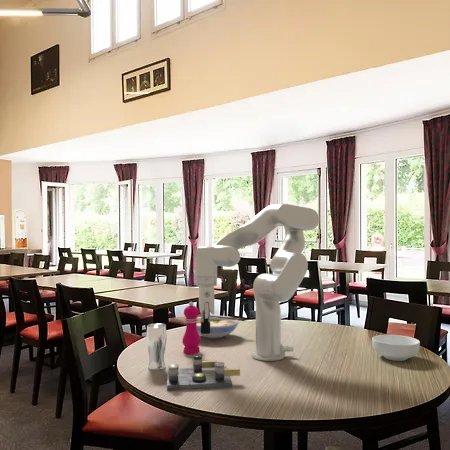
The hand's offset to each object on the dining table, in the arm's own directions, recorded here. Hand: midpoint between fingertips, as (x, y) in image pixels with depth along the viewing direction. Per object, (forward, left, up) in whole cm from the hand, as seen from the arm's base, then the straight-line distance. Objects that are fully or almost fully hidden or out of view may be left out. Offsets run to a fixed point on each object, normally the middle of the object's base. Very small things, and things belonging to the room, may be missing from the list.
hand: (205, 333), depth 159 cm
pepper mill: (+4, -21, -13) cm, 25 cm away
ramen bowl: (-7, -44, -13) cm, 46 cm away
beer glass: (+17, -3, -13) cm, 21 cm away
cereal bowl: (-72, -3, -13) cm, 73 cm away
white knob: (+11, +14, -11) cm, 21 cm away
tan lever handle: (+1, +7, -11) cm, 13 cm away
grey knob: (-6, +16, -11) cm, 20 cm away
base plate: (+3, +12, -12) cm, 18 cm away
